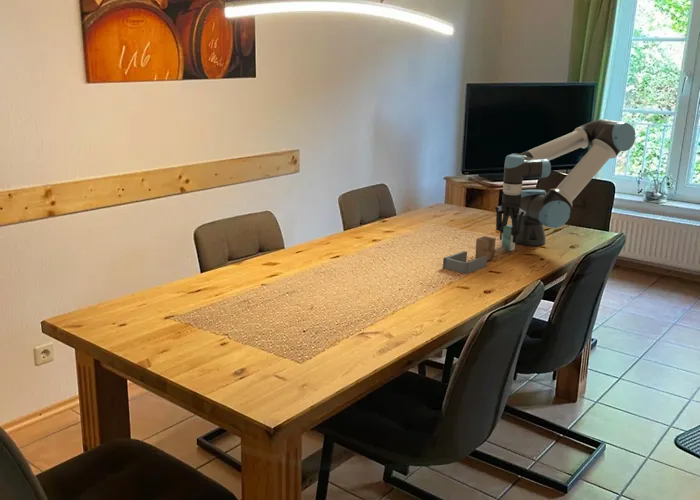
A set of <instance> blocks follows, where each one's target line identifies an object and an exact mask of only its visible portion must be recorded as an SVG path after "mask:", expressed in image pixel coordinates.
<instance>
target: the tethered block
mask: <svg viewBox="0 0 700 500" xmlns="http://www.w3.org/2000/svg"><path fill="white" fill-rule="evenodd" d="M512 234H513V231H512V224H507V225H505V226H504V228H503V242H502V247H501V246H500V247H498V248H496V239H497V238H495V237H490V236H487V235H484V236H481V237H478V238H475V239H476V240H475V243H476V244H475V256H474V257H475V259H477V258H480V257H482V256H487V261H490V260H492V259H495V256H496V255H495V254H497V253H499V252H502V251H508V252H510V251H511V250H510V241H511V235H512Z"/></svg>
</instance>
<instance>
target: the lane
mask: <svg viewBox="0 0 700 500" xmlns="http://www.w3.org/2000/svg"><path fill="white" fill-rule="evenodd" d="M467 256H468V251H466V250H463V251H461V252H456V253H455V254H452V255H448V256H444V257H443V259H442V260H443V261H442V268H443V269H445V270H448V271H453V272H457V273H460V274H465V275H467V274H469V273H472V272H474V271H478V270H480V269H483V268H486V267H487V263H488V260H487V256H482V257H480V258H477V259H476V258H475V259H472V260H469V261H467V258H468V257H467Z"/></svg>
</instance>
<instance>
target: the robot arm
mask: <svg viewBox="0 0 700 500" xmlns="http://www.w3.org/2000/svg"><path fill="white" fill-rule="evenodd" d="M635 142H636V131H635V128H634V126H633V125H632V124H631V123H629V122H625V121H623V120H620V121H619V120H612V119H607V118H600V119H595V120H593V121H590V122H588V123H584V124H582V125H579V126H578V127H576V128H575V129H574V130H573V131H572V132H569V133H567V134H565V135H562V136H560V137H557V138H555V139H553V140H550V141H548V142H545V143H543V144H540V145H538V146H535V147H533V148H531V149H529V150H526V151H523V152H521V153H511V154H508V155H506V157H505V160H504V165H503V166H504V168H503V170H504V171H503V185H502V192H503V193H502V197H501V202H502V203H501V205H498V206H495V208H494V209H495V214H496V215H495V219H496V220H495V223H496V224H495V226H496V227H495V230H496V231H498V232H499V239H500V241H501V242H500V248H501V247H502V242H503V228H504V226H505V225H508V221H509V218H510V219H511V225H512V231H513V234H512V235H511V241H510V250H511V251H514V250H515V249H516V245H523V246H542V245H543V246H544V245H545V244H546V240H547V239H546V238H547V237H546V233H545V228H544V227H547V228H555V229H558V228H560V227H563V225H565V224H566V223H567V222H568V221H569V219H570V216H571V215H570V214H571V209H572V208H573V201H574V200H575V199H576V198H577V196H578V195H579V194H580V193H581V192H582V191H583V189H585V187H587V185H588V184H589V183H590V182H591V180H592V179H593V178H594V177H595V176H596V175H597V173H598V172H599V171H600V170H601V169H602V168H603V167H604V165H605V164H606V163H608V161H609V160H611V159H616V158H617V157H618V155H619V154H620V152H626V151H627V152H628V151H629V150H631V148H632V147H633V146H634V144H635ZM589 147H590V149H589V150H587V152H586V153H585V154H584V155H583V157H581V159H580V160H579V161H578V162H577V164H576V165H575V166H574V167H573V168H572V169H571V170H570V172H568V174H567V175H566V176H565V177H564V178H563V180H561V181H560V183H559V184H558V185H557V187H556V188H550V189H549V190H548V191H546V190H545V189H523V181H524V179H538V178H539V179H542V178H547V177H549V176H550V174H551V170H552V165H551V162H550V161H551V160H554V159H556V158H559V157H561V156H563V155H566V154H569V153H571V152H573V151H575V150H578V149H580V148H581V149H586V148H589Z"/></svg>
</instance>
